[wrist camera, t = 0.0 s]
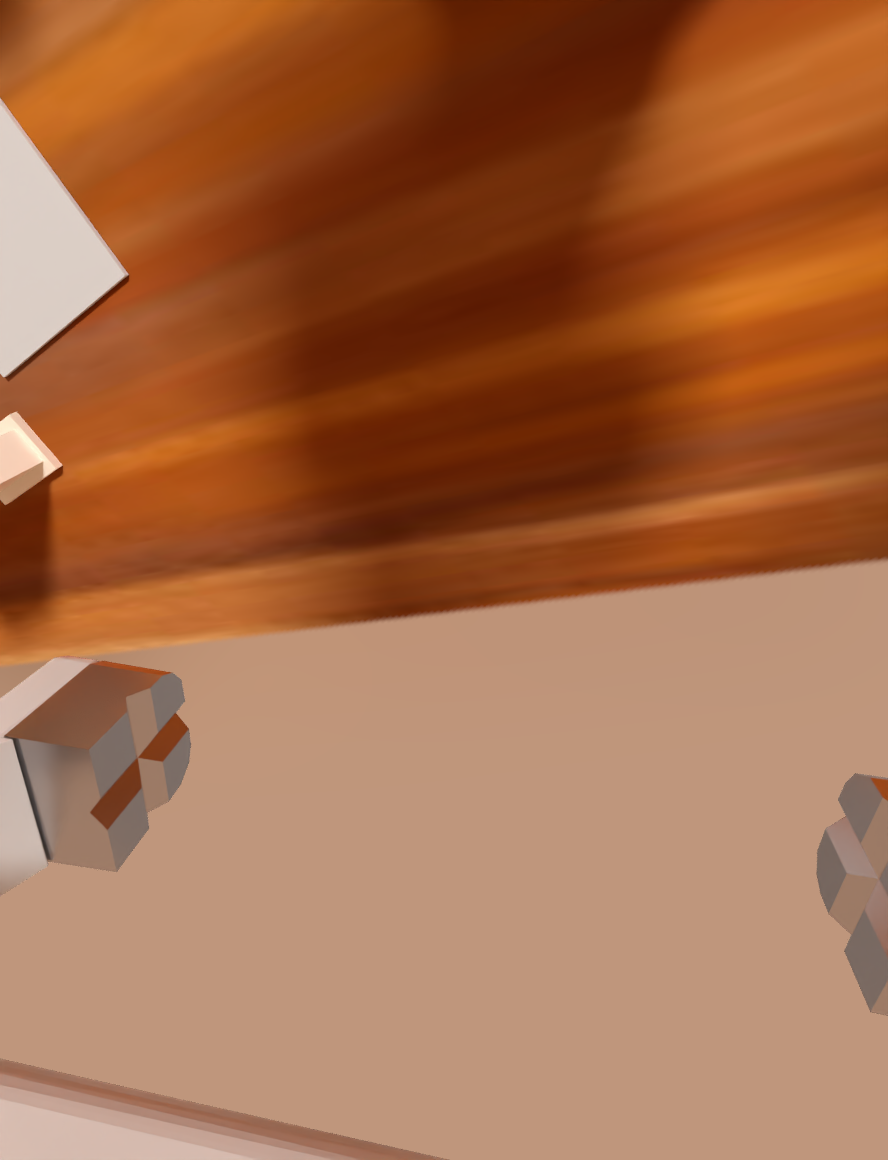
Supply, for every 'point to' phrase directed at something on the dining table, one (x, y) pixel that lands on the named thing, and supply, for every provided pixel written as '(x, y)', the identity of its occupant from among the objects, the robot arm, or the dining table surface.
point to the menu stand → (22, 458)
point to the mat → (42, 251)
